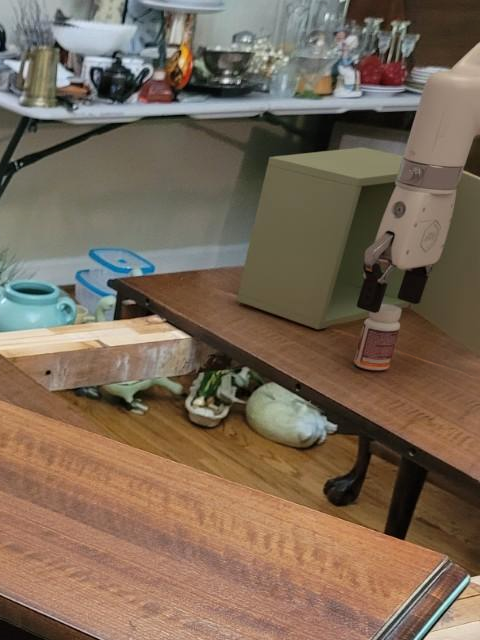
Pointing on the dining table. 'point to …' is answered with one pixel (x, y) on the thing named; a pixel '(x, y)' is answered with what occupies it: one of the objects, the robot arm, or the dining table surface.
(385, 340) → the pill bottle
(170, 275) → the dining table surface
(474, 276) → the cupboard door
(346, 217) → the cupboard
